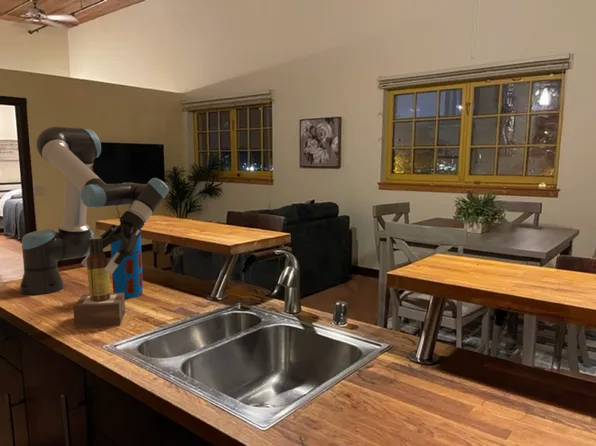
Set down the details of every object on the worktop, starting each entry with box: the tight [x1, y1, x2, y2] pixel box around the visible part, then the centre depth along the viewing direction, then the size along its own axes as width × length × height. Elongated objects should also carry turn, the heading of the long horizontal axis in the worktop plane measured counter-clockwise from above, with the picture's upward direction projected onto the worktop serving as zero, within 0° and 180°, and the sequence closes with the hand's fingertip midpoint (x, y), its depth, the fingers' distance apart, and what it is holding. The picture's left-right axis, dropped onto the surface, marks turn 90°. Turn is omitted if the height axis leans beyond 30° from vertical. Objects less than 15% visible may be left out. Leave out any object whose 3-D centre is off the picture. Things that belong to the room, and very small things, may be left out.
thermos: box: [110, 233, 144, 300], centre depth 174 cm, size 11×11×25 cm
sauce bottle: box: [86, 236, 112, 301], centre depth 145 cm, size 7×6×20 cm
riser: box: [72, 292, 126, 330], centre depth 146 cm, size 13×13×7 cm
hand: (95, 268), depth 143 cm, fingers open, 13 cm apart
